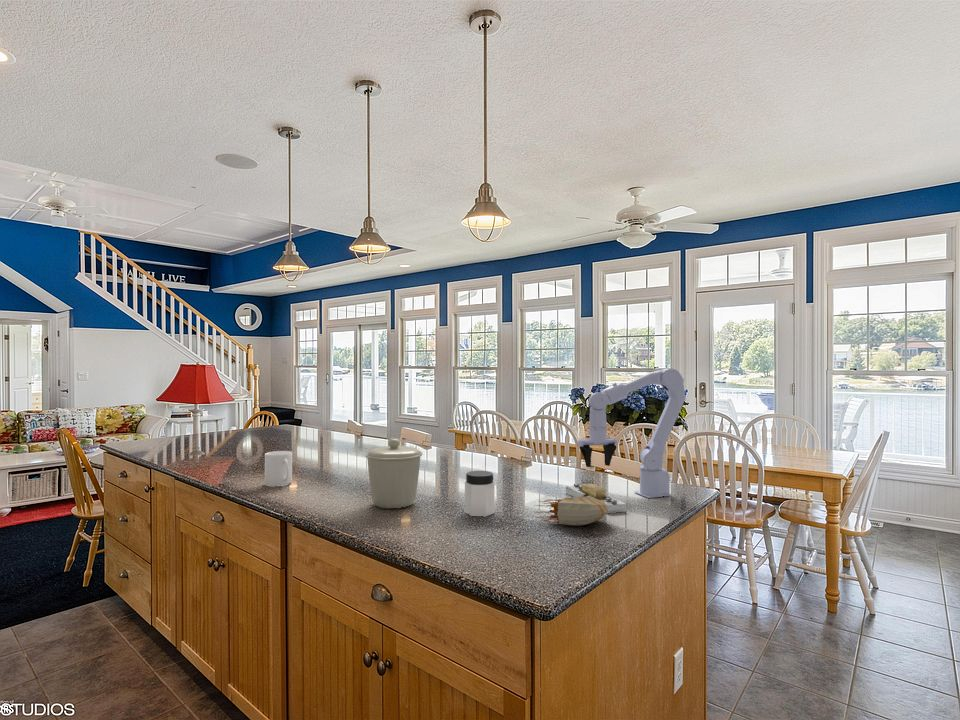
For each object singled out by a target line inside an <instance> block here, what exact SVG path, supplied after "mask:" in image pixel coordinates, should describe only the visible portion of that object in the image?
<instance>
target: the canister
mask: <svg viewBox="0 0 960 720" xmlns="http://www.w3.org/2000/svg"><path fill="white" fill-rule="evenodd" d="M400 442H401V441H400V440H399V439H398V438H391V439H389V441H388V446H387V445H386V446H379V447H375V448H372V449H371V450H369V451H367V452H366V453H365V454H364V456H365V457H366V458H367V459H366V461H367V467H368V468H367V469H368V477H369V479H368V481H369V486H370V487H369V488H370V494H371V499H372V503H373V504H374V505H375V507H377V506H378V508H380V507H382V508H381V509H384V508H398V509H402V508H401V507H404V508H407V507H406V506H408V507H409V505H410V506H411V505H412V504H414V502H415V501H416V498H417V497H416V496H417V491H418V484H419V483H418V482H419V476H420V467H421V466H420V465H421V458H422V457H421V456H423V454H424V453H423V452H422V451H420V449H418V448H416V447H414V446H413V447H412V446H407V445H400Z"/></svg>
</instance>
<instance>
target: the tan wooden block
mask: <svg viewBox="0 0 960 720" xmlns="http://www.w3.org/2000/svg"><path fill="white" fill-rule="evenodd" d="M581 485H582V492H583V493H585V494H586V497H587V496H591V497H593V498H595V499H598V500H606V495H607V493H606V491H607V490H606V489H604V488H603V487H600V486H598V485H596V484H593V483H583V484H581Z"/></svg>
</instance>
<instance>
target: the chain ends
mask: <svg viewBox="0 0 960 720" xmlns="http://www.w3.org/2000/svg"><path fill="white" fill-rule="evenodd" d="M565 494H566V495H568V496H569V497H571V498H572V497H580V496H585V497H586V494H585V493H583V492H582V484H580V483H573V485H566V486H565ZM587 497H591V496H587ZM591 498H593V497H591ZM600 501H602V502H604V503H605V504H606V506H607V507H608V509H609V510H608V511H607V513H611V514H617V513H616V512H621V513H626V512H627V503H626V502H623V501H621V500H618V499H616V498H615V497H611V496H609V495H608V494H606V500H600Z"/></svg>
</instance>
